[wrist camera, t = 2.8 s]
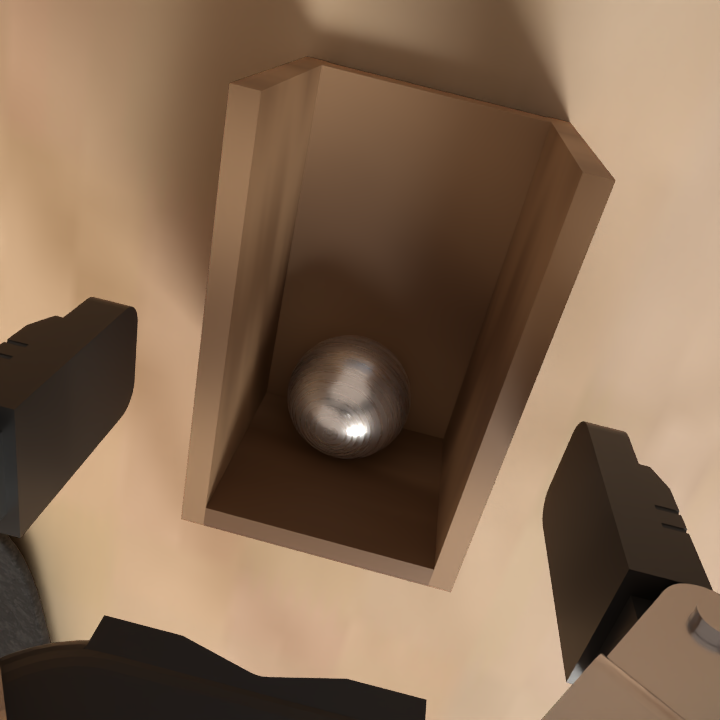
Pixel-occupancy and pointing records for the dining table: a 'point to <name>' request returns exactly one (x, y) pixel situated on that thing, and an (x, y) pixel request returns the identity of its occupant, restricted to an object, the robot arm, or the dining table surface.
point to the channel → (380, 304)
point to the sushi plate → (18, 603)
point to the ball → (349, 397)
